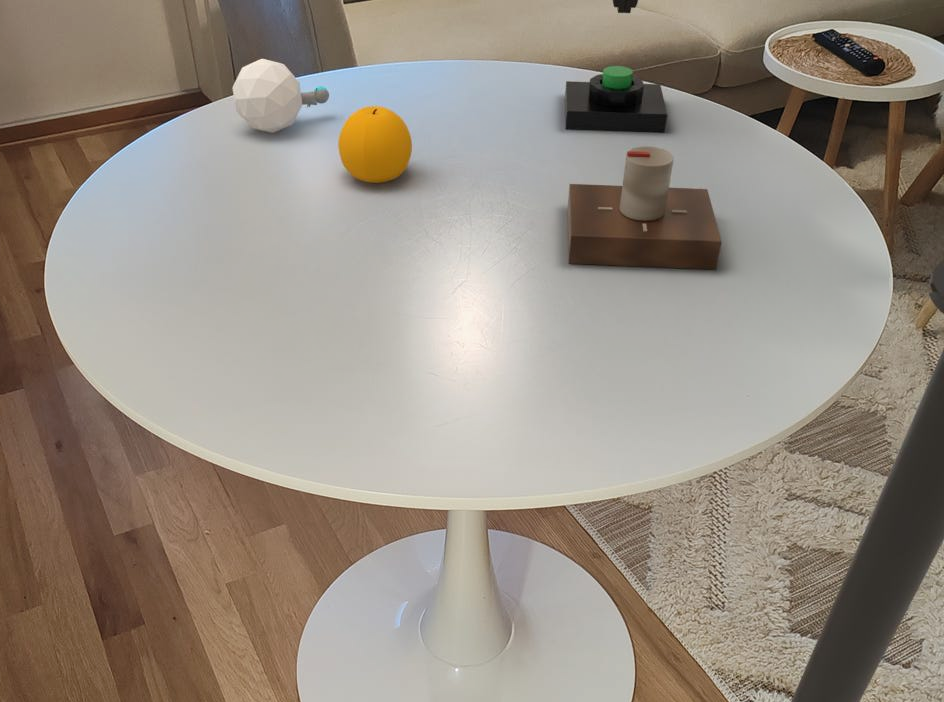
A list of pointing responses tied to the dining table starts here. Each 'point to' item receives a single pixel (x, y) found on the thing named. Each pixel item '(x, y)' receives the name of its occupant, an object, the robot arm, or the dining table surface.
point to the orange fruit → (375, 145)
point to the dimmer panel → (641, 230)
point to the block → (614, 106)
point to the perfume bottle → (271, 95)
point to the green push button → (617, 77)
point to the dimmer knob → (646, 183)
